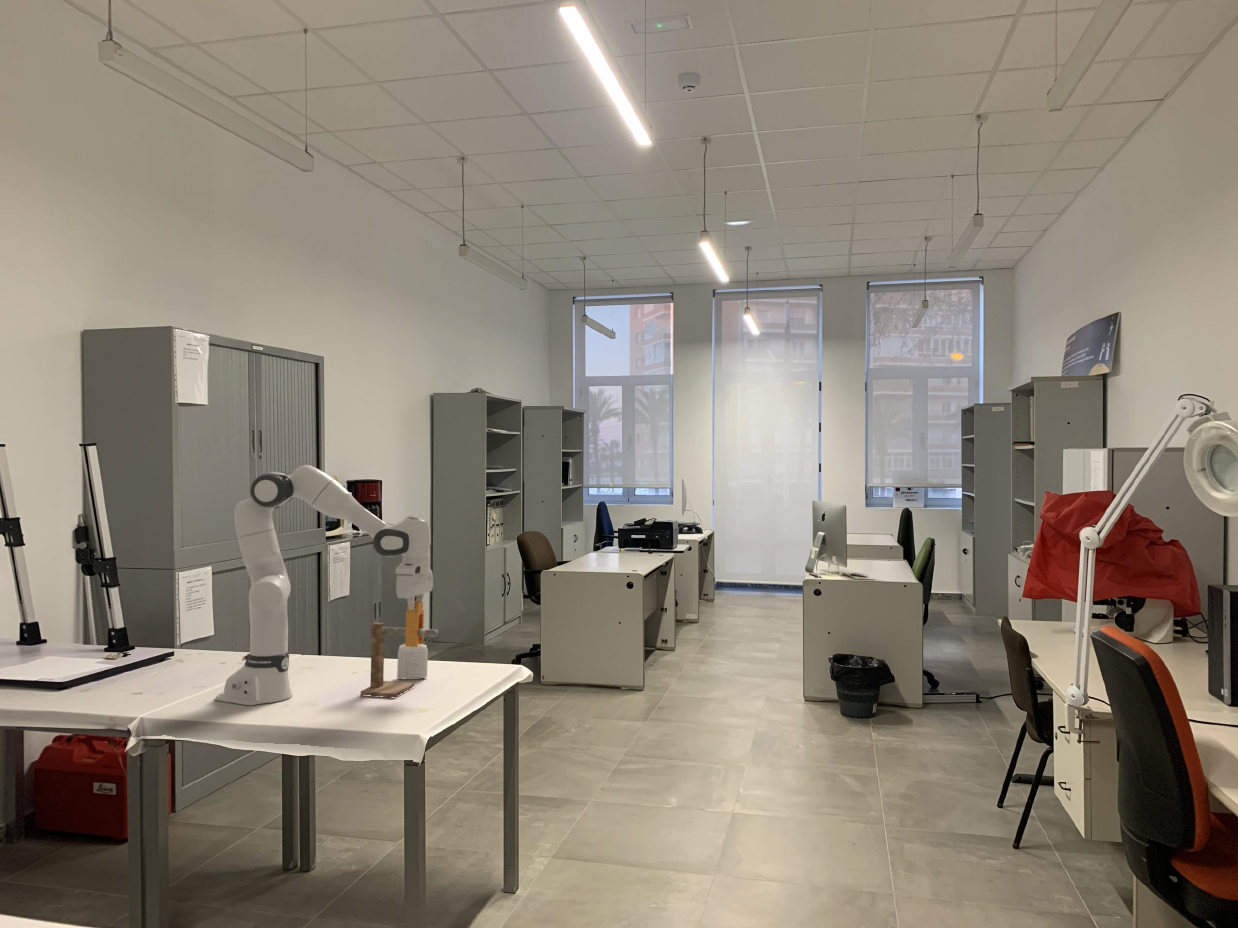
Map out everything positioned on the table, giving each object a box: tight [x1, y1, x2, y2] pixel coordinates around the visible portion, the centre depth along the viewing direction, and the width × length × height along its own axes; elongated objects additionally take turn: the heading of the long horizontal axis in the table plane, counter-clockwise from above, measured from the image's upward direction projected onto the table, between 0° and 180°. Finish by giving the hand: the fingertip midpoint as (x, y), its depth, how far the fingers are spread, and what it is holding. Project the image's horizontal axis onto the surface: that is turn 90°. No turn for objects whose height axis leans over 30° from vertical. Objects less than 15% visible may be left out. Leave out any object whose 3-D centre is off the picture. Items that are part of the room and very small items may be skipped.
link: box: [404, 600, 425, 647], centre depth 262 cm, size 4×5×14 cm
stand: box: [360, 621, 439, 698], centre depth 262 cm, size 22×14×22 cm, turn 79°
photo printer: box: [396, 643, 429, 680], centre depth 281 cm, size 10×4×12 cm, turn 98°
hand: (415, 608), depth 262 cm, fingers closed on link, 3 cm apart
